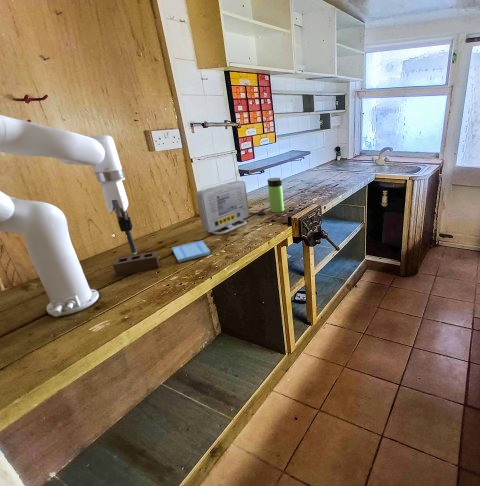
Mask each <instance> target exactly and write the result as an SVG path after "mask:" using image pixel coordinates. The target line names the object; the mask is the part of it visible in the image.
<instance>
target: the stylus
mask: <svg viewBox="0 0 480 486" xmlns="http://www.w3.org/2000/svg"><path fill="white" fill-rule="evenodd" d="M122 214H123V213H122ZM124 233H125V236H126V239H127V242H128V245H129V249H130V251H131V253H132V255H137V252H138V251H137V248H136V244H135V241H134V237H133V234H132V230H130V231H124Z"/></svg>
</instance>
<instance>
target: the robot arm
mask: <svg viewBox="0 0 480 486" xmlns="http://www.w3.org/2000/svg"><path fill="white" fill-rule="evenodd" d="M0 153H6V154H10V155H11V154H12V155H19V156H28V157H43V158H51V159H55V160H58V161H59V162H61V163H63V164H67V165H73V166H74V165H77V166H78V165H79V166H91V167H92V169H93V170H92V171H93V173H94V175H95V179H96V182H97V183H98V184H100V186H101V191H102V196H103V198H104V202H105V206H106V209H107V213H108V214H110V215H111V214H113V212H114V214H115V216H116V220H117V223H118V226H119V229H120V232H122V233H125V231H132V230H133V223H132V220H131V217H130V214H129V211H128V208H129V199H128V196H127V192H126V189H125V186H124V183H123V181H125V180H126V177H125V173H124V171H123V168H122V163H121V161H120V157H119V155H118V151H117V147H116V143H115V141H114V138H113V137H112V136H111V135H110V134H109V135H108V134H96V135H88V136H86V135H82V134H79V133H76V132H72V131H68V130H65V129H60V128H56V127H53V126H47V125H42V124H39V123H35V122H31V121H27V120H23V119H18V118H14V117H9V116H6V115H2V114H0ZM122 213H123V214H122ZM0 231H1V232H5V233H9V234H14V235H15V234H16V235H21V236H23V237H24V239H25V245H26V251H27V255H28V256H29V259H30V262H31V263H32V265H33V268H34V270H35V272H36V274H37V276H38V278H39V280H40V282H41V284H42V287H43V289H44V291H45V293H46V295H47V297H48V299H49V301H50V302H49V303H48V304H47V305H46V312H47V314H48V315H51V316H53V317H60V316H67V315H71V314H75V313H78V312H80V311H83V310H85V309H87V308H89V307H90V306H92V305H94V303H96V302H97V300H98V299H99V298H100V293H99V291H98V290H96V289H93V288H90V285H89V284H88V283H89V282H88V281H87V278H86V275H85V273H84V271H83V267H82V266H81V263H80V261H79V259H78V256H77V253H76V251H75V248H74V246H73V242H72V240H71V237H70V233H69V227H68V221H67V217H66V216H65V214H64V212H63V211H62V210H61V209H60V208H59V207H57V206H56V205H53V204H51V203H48V202H44V201H37V200H29V199H22V198H17V197H15V196H14V197H13V196H10V195H7V194H6V193H4V192H3V191H1V190H0Z"/></svg>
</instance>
